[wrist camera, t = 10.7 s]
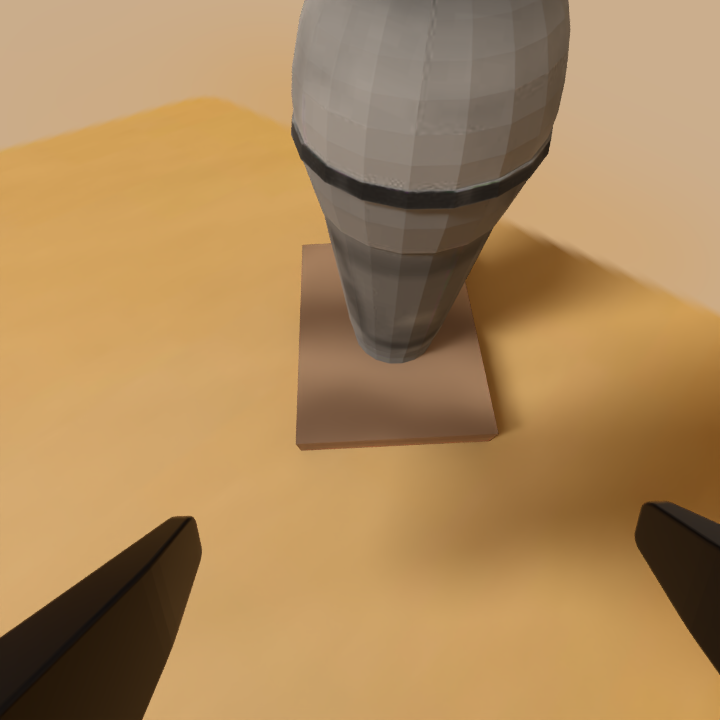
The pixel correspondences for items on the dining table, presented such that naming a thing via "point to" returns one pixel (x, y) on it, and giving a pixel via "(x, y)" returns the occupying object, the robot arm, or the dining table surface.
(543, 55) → the beverage cup
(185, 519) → the robot arm
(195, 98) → the dining table surface
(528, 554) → the dining table surface
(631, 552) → the dining table surface
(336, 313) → the walnut board
